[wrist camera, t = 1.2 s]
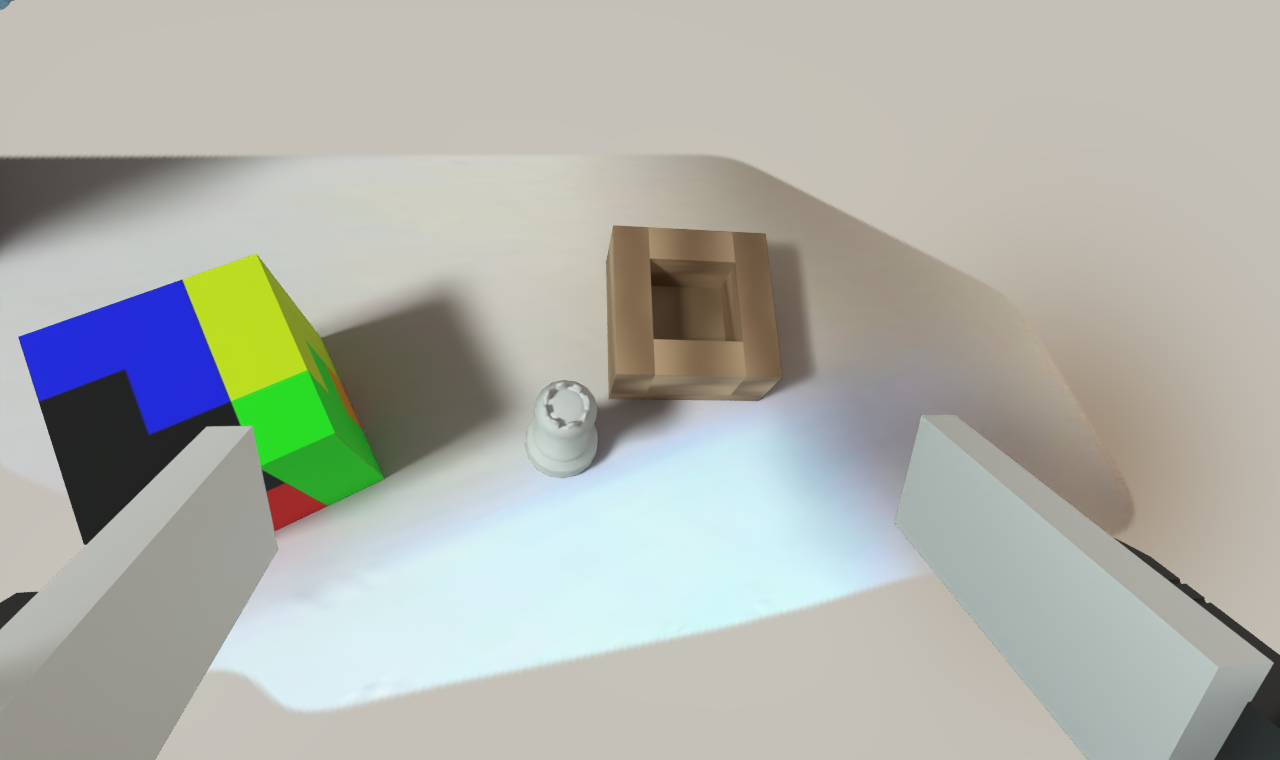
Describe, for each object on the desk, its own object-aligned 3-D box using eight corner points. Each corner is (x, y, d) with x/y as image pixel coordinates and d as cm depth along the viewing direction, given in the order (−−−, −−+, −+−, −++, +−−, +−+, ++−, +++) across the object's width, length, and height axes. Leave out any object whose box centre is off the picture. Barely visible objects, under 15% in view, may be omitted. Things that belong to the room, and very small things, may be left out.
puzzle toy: (147, 407, 37) (18, 336, 28) (321, 338, 40) (256, 253, 31) (204, 564, 35) (83, 544, 26) (384, 479, 38) (335, 433, 29)
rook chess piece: (558, 395, 41) (563, 346, 34) (612, 441, 41) (628, 401, 33) (509, 447, 40) (502, 406, 32) (564, 495, 39) (570, 465, 32)
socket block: (608, 398, 42) (616, 373, 37) (606, 262, 45) (613, 225, 41) (758, 400, 43) (782, 377, 39) (745, 268, 46) (765, 233, 42)
